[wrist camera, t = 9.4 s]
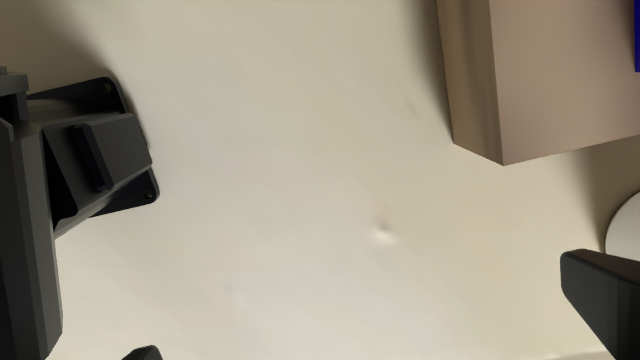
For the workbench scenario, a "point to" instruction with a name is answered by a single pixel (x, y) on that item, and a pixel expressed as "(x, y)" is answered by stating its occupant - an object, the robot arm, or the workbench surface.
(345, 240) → the workbench surface
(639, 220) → the can
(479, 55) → the plate
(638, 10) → the cable holder
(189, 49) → the workbench surface
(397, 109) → the workbench surface
